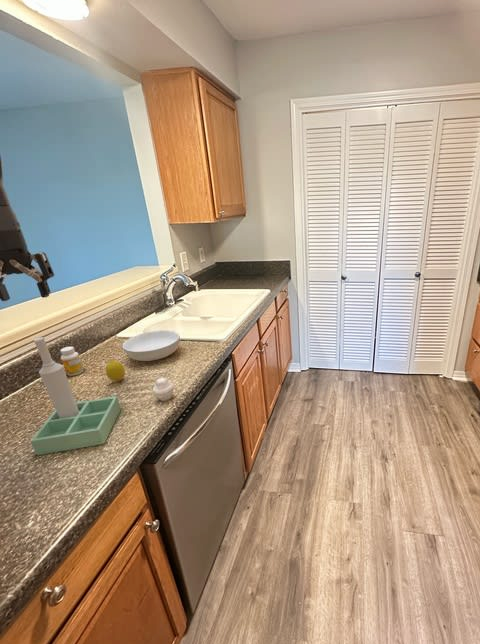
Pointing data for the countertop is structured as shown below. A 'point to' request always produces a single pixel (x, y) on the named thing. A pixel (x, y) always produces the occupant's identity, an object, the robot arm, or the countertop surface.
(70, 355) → the supplement bottle
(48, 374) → the bottle
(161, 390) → the muffin
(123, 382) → the countertop surface
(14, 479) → the countertop surface
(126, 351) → the serving bowl
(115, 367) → the lemon
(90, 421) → the compartment tray
